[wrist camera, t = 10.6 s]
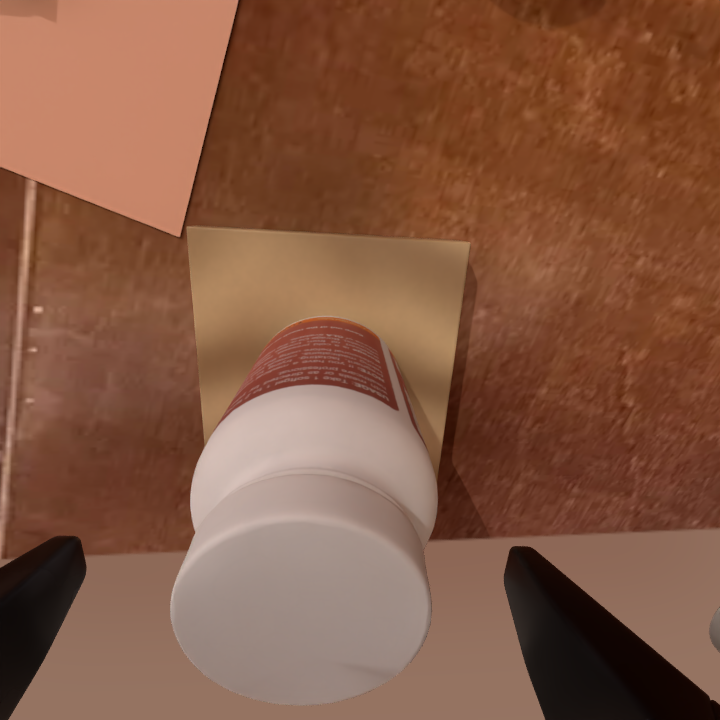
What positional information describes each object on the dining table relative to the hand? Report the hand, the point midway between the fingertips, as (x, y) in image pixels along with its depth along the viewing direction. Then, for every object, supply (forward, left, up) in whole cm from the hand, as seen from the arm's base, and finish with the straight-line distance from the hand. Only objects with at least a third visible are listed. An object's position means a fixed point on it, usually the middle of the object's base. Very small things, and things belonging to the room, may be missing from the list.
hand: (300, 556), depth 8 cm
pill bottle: (0, 0, -10) cm, 10 cm away
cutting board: (0, 0, -11) cm, 11 cm away
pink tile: (+15, +11, -11) cm, 22 cm away
